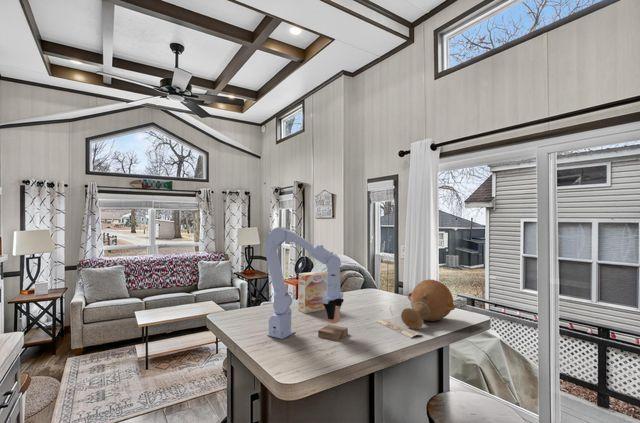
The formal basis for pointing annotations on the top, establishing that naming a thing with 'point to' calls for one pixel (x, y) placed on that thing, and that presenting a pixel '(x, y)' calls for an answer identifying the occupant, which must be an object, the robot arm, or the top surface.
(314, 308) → the coffeecake box
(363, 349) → the top surface
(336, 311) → the terracotta block
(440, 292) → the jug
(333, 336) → the walnut base block
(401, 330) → the newspaper
